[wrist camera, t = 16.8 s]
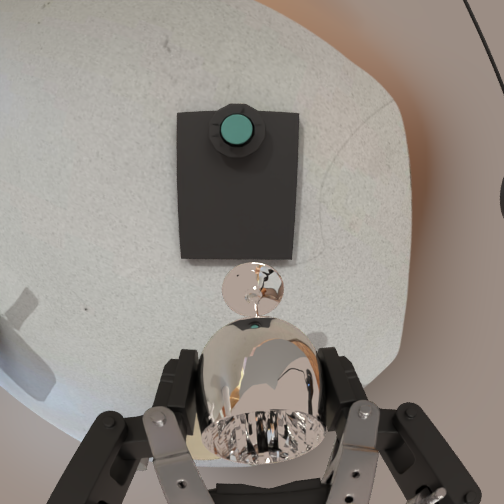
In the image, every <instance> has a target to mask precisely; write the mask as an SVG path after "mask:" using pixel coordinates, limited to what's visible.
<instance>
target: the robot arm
mask: <svg viewBox="0 0 504 504" xmlns="http://www.w3.org/2000/svg"><path fill="white" fill-rule="evenodd" d="M463 1H464V3H465V5H466V8H467V9H468V12H469V14H470V16H471V18H472V20H473V23H474V25H475V27H476V29H477V31H478V34H479V36H480V38H481V40H482V42H483V45H484V47H485V49H486V52H487V54H488V56H489V59H490V61H491V64H492V66H493V68H494V71H495V73H496V76H497V78H498V81H499V83H500V86H501V88H502V91H503V94H504V84H503V82H502V79H501V77H500V74H499V72H498V69H497V67H496V64H495V62H494V59H493V57H492V55H491V53H490V50H489V48H488V45H487V43H486V41H485V38H484V36H483V34H482V32H481V30H480V27H479V25H478V23H477V21H476V19H475V17H474V15H473V12H472V10H471V8H470V6H469V4H468V2H467V0H463ZM318 355H319V357H320V360H321V364H322V367H323V370H324V375H325V382H326V390H327V424H326V425H327V429H328V431H336V434H337V437H336V439H335V442H334V445H333V449H332V452H331V456H330V459H329V462H328V465H327V469H326V471H325V474H324V476H323V478H322V480H321V481H320V478H316V479H308V480H301V481H294V482H291V483H288V484H285V485H281V486H278V487H274V488H270V489H268V488H261V487H255V486H249V485H245V484H218V483H217V484H216V488H215V489H210V490H207V488H206V486H205V484H204V482H203V480H202V478H201V476H200V473H199V471H198V469H197V467H196V465H195V463H194V461H193V458H192V456H191V454H190V452H189V450H188V447H187V445H186V437H187V435H190V436H193V433H194V425H195V418H196V405H195V375H196V369H197V364H198V361H199V359H198V352H197V350H188V349H182V350H181V352H180V356H179V359H170V360H169V361H168V363H167V364H166V365H165V366H164V369H163V373H162V376H161V379H160V383H159V386H158V390H157V393H156V396H155V400H154V403H153V406H152V408H150V409H148V410H147V411H146V412H145V413H144V415H141V416H137V417H128V418H123V416H122V415H121V414H119V413H118V412H115V411H106V412H103V413H101V414H100V415H99V416H98V417H97V418H96V420H95V421H94V423H93V424H92V426H91V428H90V429H89V431H88V433H87V434H86V436H85V437H84V439H83V441H82V442H81V444H80V446H79V447H78V449H77V451H76V452H75V454H74V456H73V457H72V459H71V461H70V463H69V464H68V466H67V468H66V470H65V471H64V473H63V475H62V476H61V478H60V480H59V482H58V484H57V485H56V487H55V489H54V491H53V492H52V494H51V496H50V498H49V500H48V502H47V504H122V502H123V499H124V497H125V495H126V492H127V490H128V488H129V486H130V483H131V481H132V479H133V477H134V474H135V472H136V470H137V467H138V465H139V463H140V461H141V458H150V457H153V465H154V468H155V471H156V474H157V477H158V479H159V482H160V485H161V488H162V490H163V493H164V495H165V498H166V500H167V503H168V504H369V500H370V496H371V492H372V487H373V482H374V477H375V472H376V467H377V461H378V453H380V454H381V456H382V458H383V460H384V461H385V463H386V465H387V466H388V468H389V470H390V471H391V473H392V475H393V477H394V479H395V480H396V482H397V484H398V486H399V487H400V489H401V491H402V492H403V494H404V496H405V498H406V499H407V503H406V504H479V503H480V501H481V497H482V493H481V490H480V488H479V487H478V485H477V484H476V482H475V481H474V480H473V478H472V477H471V475H470V474H469V472H468V471H467V469H466V468H465V467H464V465H463V464H462V462H461V461H460V460H459V458H458V457H457V456H456V454H455V453H454V451H453V450H452V449H451V447H450V446H449V444H448V443H447V442H446V440H445V439H444V438H443V436H442V435H441V434H440V432H439V431H438V430H437V428H436V427H435V426H434V424H433V423H432V422H431V421H430V419H429V418H428V417H427V415H426V414H425V413H424V412H423V410H422V409H421V407H419V406H418V405H416V404H414V403H410V402H409V403H408V402H407V403H403V404H401V405H400V406H399V407H398V409H397V410H392V409H380V408H378V406H377V405H376V404H375V403H373V402H371V401H368V399H367V397H366V394H365V392H364V390H363V387H362V385H361V383H360V380H359V378H358V377H357V374H356V371H355V369H354V367H353V365H352V363H351V362H350V361H349V360H348V359H347V358H346V357H345V356H340V357H339V356H338V353H337V351H336V349H335V347H328V348H319V350H318ZM377 449H378V450H377ZM378 451H379V452H378Z"/></svg>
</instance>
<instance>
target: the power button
mask: <svg viewBox="0 0 504 504" xmlns="http://www.w3.org/2000/svg"><path fill="white" fill-rule="evenodd" d="M221 133H222V135H223V137H224V139H225V140H226V141H228V142H229V143H231V144H242V143H245V142H246V141H247V140H248V139H249V138H250V136H251V134H252V124H251V122H250V121H249V119H248V118H246V117H245V116H243V115H238V114H236V115H231V116H229V117H227V118H226V119H225V120H224V122H223V123H222V126H221Z"/></svg>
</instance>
